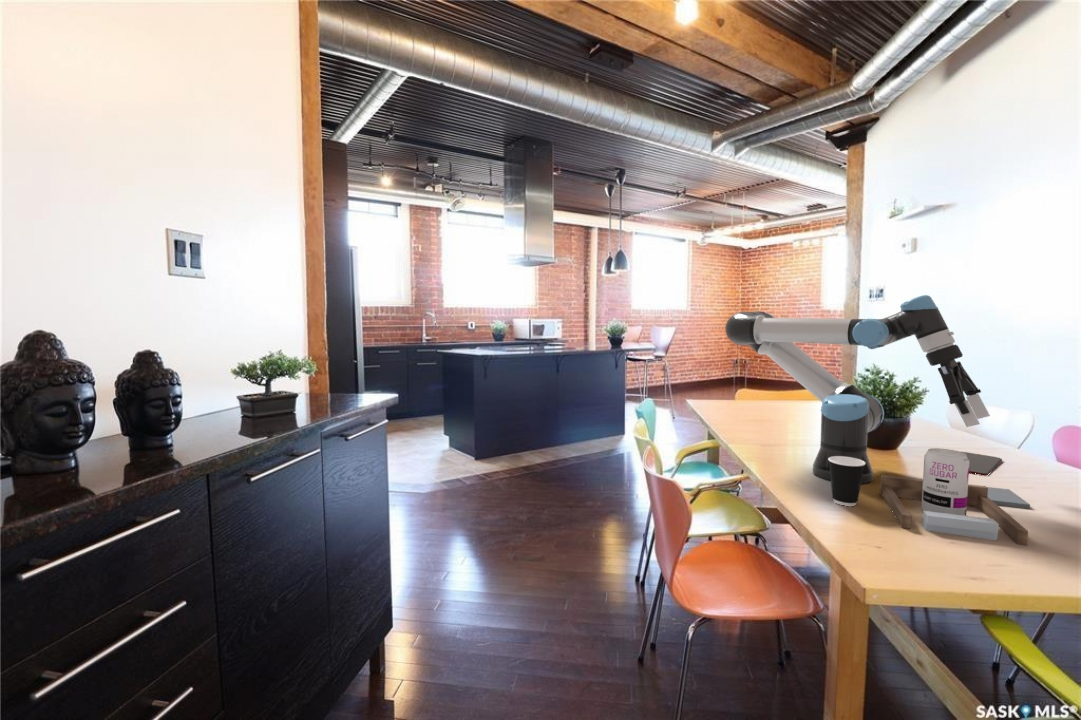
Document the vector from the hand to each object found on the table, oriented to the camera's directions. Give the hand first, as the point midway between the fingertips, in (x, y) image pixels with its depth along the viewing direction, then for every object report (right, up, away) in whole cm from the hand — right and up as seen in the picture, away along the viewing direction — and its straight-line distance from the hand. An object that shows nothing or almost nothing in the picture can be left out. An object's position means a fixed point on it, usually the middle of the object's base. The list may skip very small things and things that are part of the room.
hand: (978, 421), depth 133 cm
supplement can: (-23, -20, -16) cm, 34 cm away
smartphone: (+18, -17, +24) cm, 35 cm away
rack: (-23, -20, -17) cm, 35 cm away
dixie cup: (-41, -20, -9) cm, 47 cm away
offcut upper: (-27, -19, -26) cm, 43 cm away
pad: (-2, -19, -5) cm, 20 cm away
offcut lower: (-27, -21, -26) cm, 43 cm away
